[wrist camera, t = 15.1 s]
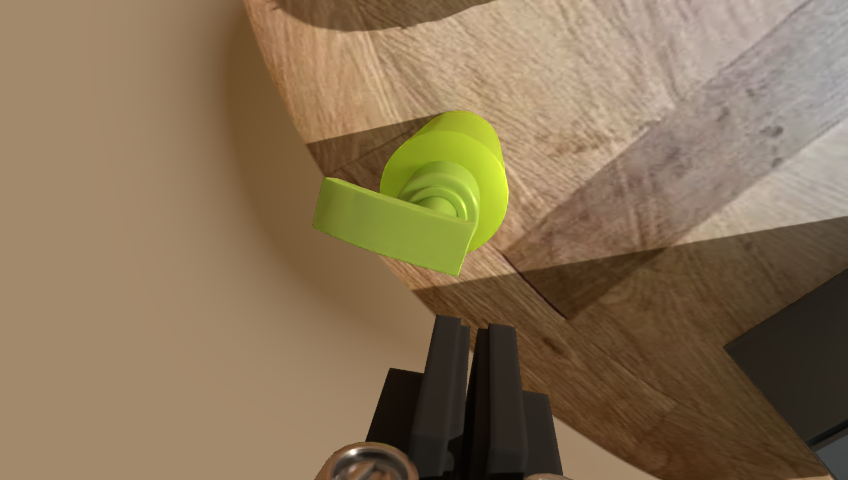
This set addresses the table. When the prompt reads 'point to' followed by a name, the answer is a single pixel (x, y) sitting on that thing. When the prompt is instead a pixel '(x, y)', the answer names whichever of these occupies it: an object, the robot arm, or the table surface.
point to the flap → (834, 454)
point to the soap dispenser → (425, 197)
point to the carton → (803, 362)
